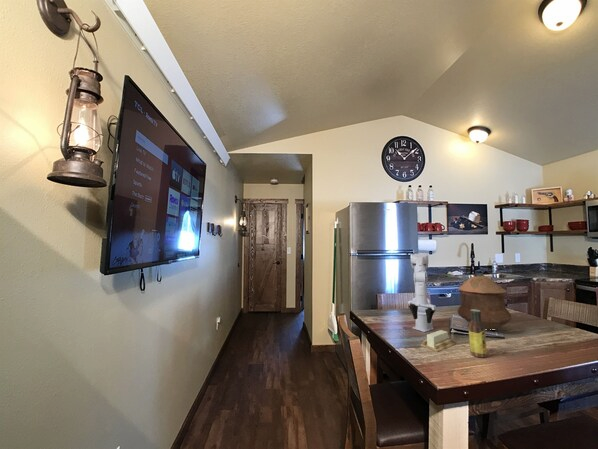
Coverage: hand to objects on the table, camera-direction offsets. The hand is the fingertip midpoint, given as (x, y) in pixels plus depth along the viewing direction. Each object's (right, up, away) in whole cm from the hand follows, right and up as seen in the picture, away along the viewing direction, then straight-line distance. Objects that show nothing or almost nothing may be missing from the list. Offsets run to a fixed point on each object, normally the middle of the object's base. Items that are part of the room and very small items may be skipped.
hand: (422, 320), depth 135 cm
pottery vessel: (+43, -10, +14) cm, 47 cm away
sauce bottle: (+16, -9, -19) cm, 26 cm away
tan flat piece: (+4, -9, -7) cm, 13 cm away
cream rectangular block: (+4, -9, -7) cm, 12 cm away
